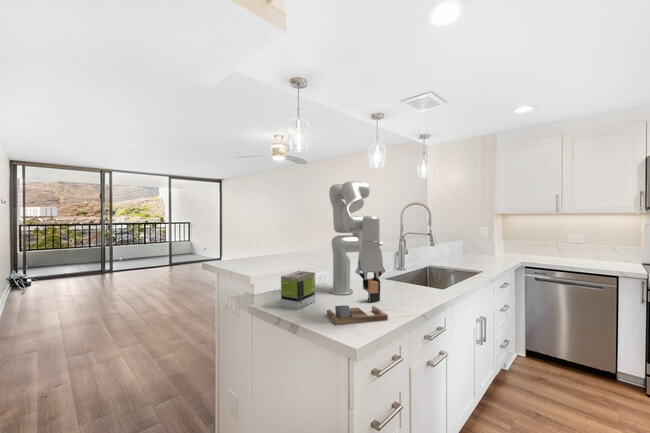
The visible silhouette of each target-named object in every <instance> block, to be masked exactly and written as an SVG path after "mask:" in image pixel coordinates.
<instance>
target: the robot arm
mask: <svg viewBox="0 0 650 433" xmlns="http://www.w3.org/2000/svg"><path fill="white" fill-rule="evenodd" d="M370 190H371V189H370V187H369V184H368V183H367V182H365V181H345V182H343V183H337V184H336V183H335V184H332V185H331V187H330V188H329V193H328V194H329V195H328V196H329V201H330V204H331V206H332V215H333V216H332V219H333V221H332V222H333V230H334V232H335V233H339V234H342V235H336V236H334V237H333V238H332V239H331V249H332V250H331V251H332V288H331V289H329V290H330V293H331V294H332V295H338V296H344V295H345V296H346V295H352V294H353V292H354V290H353V289H352V288H351V259H350V258H349V256H348V255H347V254H348V253H358V258H357V268H356V270H355V272H354V273H355V274H357V275H359V276H360V277H361V279H362V288H363V287H364V288H365V289H368V280H367V278H368V275H369V274H368V273H373V277H372V278H373V280H375V281H377V282H378V279H379V280H380V277H381V276H382V275H383V274H384V273H386V269H385V267H384V264H383V263H384V261H383V254H382V248H380V247H381V246H383V242H381V241H380V239H381V238H380V237H381V236H380V234H381V233H380V229H381V228H380V227H381V226H380V225H381V224H380V223H381V221H380V220H381V219H380V218H379V217H378V216H371V215H351V214H353V213H355V212H357V211H360V210H361V209H362V208H363V207H364V204H365V201H364V200H365V199H367V198H368V197H369V196H370V192H371V191H370ZM343 200H344V201H343ZM343 234H347V235H343ZM348 234H352V235H348Z"/></svg>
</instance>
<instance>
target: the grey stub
mask: <svg viewBox="0 0 650 433" xmlns="http://www.w3.org/2000/svg"><path fill="white" fill-rule="evenodd" d="M334 308H335V310H334V311H335V316H336V317H337V318H348V317H350V312H349V308H350V305H346V304H345V305H335V307H334Z"/></svg>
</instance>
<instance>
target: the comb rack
mask: <svg viewBox="0 0 650 433" xmlns="http://www.w3.org/2000/svg"><path fill="white" fill-rule="evenodd" d="M349 312H350V317H348V318H338V317H336V314H335V313H334V312H333V311H332V310H331V309H327V310H326V316H327V317H328V318H329V320H331V322H332V323H333V324H334V325H335V326H338V325H348V324H349V325H350V324H351V325H353V324H362V323H370V322H382V321H388V320H389V317H388V316H389V315H388V314H387V313H386V312H384V311H382V310H381V309H379V308H378V306H375V305H374V306H373V305H372V306H371V312H373V313H374V314H373V315H370V314H369V315H368V314H367V313H366V312H365V311H363V310H362V309H361V308H360V307H349Z"/></svg>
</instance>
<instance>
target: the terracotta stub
mask: <svg viewBox="0 0 650 433" xmlns="http://www.w3.org/2000/svg"><path fill="white" fill-rule="evenodd" d="M371 278H372V277H371ZM371 278H369V277H367V280H368V289H365V288H364V287H363V286H362V289H363V290H364V291H365V292H367V293H368V292H369V293H370V294H371V293H378V282H377V281H375V280H373V279H371Z"/></svg>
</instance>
